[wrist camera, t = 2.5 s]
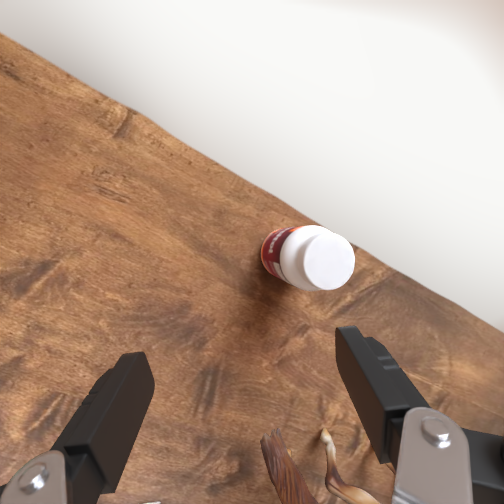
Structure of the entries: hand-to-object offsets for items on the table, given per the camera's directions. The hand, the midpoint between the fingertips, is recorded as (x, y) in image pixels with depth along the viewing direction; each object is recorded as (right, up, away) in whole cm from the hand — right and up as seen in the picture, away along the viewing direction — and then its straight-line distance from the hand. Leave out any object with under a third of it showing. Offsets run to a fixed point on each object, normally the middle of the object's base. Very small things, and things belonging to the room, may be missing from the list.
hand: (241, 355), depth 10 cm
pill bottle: (+4, +4, +21) cm, 21 cm away
